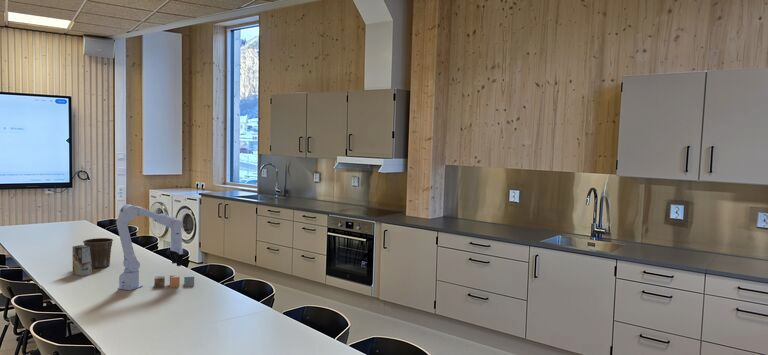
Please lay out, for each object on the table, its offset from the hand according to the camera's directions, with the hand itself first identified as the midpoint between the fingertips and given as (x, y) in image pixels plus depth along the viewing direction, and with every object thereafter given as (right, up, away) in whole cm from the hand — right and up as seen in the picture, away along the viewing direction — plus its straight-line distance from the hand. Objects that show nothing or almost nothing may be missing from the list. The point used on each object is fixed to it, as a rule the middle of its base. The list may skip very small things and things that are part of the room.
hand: (176, 264), depth 306 cm
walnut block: (-6, -10, -9) cm, 15 cm away
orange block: (+1, -10, -7) cm, 12 cm away
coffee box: (-58, -7, +10) cm, 60 cm away
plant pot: (-59, -6, +30) cm, 66 cm away
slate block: (+8, -10, -4) cm, 14 cm away
